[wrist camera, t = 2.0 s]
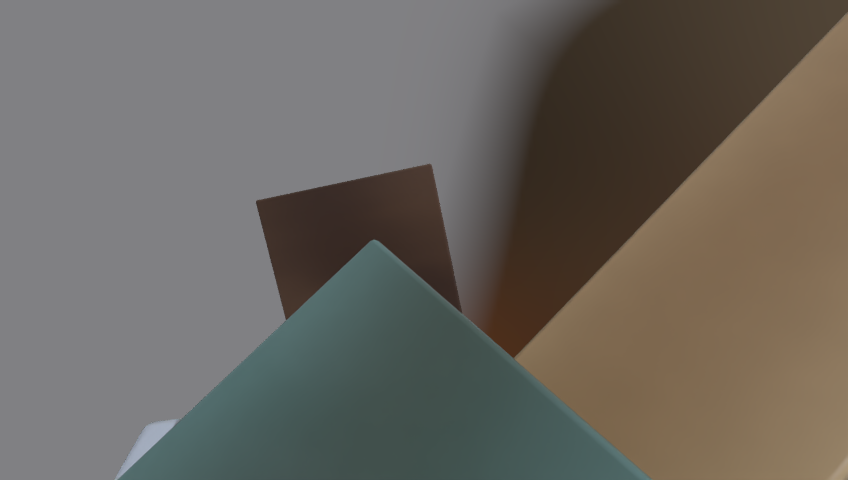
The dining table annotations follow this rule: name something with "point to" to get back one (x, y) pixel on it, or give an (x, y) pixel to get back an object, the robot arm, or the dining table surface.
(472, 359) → the scrub brush
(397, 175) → the shelf post
